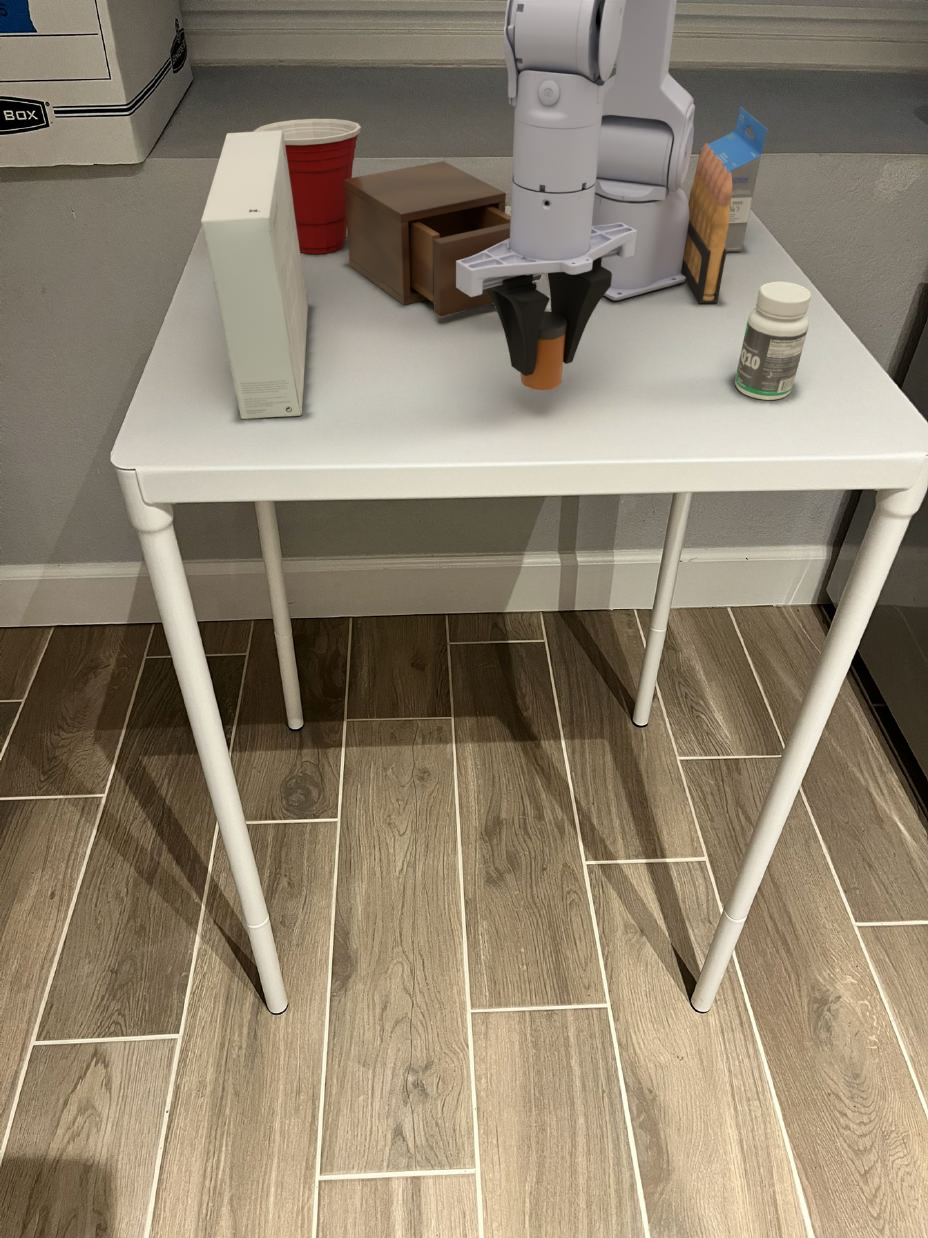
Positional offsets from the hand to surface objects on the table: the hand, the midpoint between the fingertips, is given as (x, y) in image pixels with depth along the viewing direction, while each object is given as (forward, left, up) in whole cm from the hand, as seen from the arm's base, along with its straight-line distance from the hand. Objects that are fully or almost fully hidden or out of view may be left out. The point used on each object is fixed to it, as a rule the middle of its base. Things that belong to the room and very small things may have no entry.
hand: (541, 363), depth 75 cm
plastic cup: (-1, -43, -5) cm, 43 cm away
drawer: (-7, -21, -4) cm, 23 cm away
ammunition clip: (-29, -14, -5) cm, 33 cm away
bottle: (0, 0, -1) cm, 1 cm away
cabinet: (-7, -30, -4) cm, 31 cm away
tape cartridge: (-40, -22, -5) cm, 46 cm away
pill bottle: (-19, +6, -5) cm, 20 cm away
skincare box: (+14, -20, -5) cm, 25 cm away
